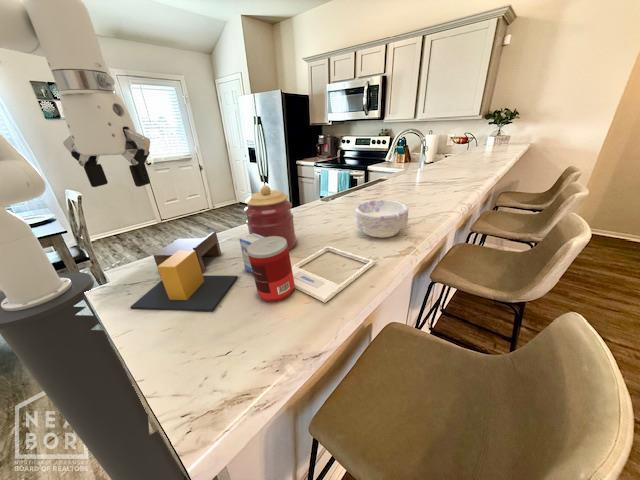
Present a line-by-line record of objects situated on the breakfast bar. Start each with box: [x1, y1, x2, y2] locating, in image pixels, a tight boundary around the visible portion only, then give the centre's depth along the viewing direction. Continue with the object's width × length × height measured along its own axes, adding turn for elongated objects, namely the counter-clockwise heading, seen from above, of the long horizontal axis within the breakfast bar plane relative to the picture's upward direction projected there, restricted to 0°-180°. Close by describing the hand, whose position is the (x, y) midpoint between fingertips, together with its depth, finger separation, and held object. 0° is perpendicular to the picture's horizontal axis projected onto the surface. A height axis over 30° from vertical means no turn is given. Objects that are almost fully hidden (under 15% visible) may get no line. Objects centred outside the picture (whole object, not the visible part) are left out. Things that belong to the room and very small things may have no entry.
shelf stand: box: [152, 230, 222, 274], centre depth 69 cm, size 12×10×7 cm
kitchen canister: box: [243, 185, 297, 251], centre depth 73 cm, size 13×13×18 cm
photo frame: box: [291, 245, 375, 304], centre depth 61 cm, size 15×1×18 cm
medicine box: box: [238, 233, 264, 274], centre depth 62 cm, size 8×4×9 cm, turn 49°
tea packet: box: [156, 250, 204, 300], centre depth 56 cm, size 4×7×8 cm, turn 173°
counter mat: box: [129, 274, 238, 313], centre depth 58 cm, size 18×12×1 cm, turn 83°
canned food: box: [247, 236, 295, 302], centre depth 53 cm, size 8×8×11 cm
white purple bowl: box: [354, 199, 409, 239], centre depth 79 cm, size 15×15×8 cm
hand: (121, 185), depth 52 cm, fingers open, 9 cm apart
